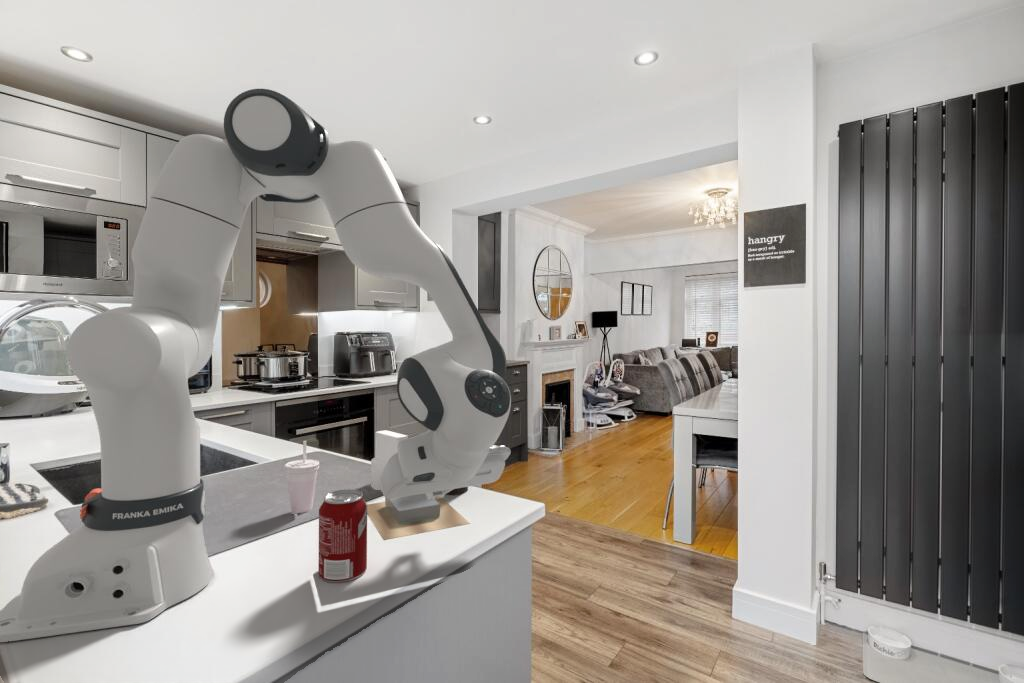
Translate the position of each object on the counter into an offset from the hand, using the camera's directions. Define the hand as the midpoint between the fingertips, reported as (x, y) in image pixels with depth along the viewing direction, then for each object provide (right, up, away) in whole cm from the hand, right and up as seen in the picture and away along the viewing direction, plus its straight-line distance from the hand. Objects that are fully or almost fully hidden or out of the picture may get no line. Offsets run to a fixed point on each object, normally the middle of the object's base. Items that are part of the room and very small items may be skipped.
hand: (433, 495), depth 85 cm
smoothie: (-28, -7, +12) cm, 31 cm away
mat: (-5, -7, +10) cm, 14 cm away
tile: (-4, -6, +7) cm, 10 cm away
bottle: (0, -7, +25) cm, 26 cm away
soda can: (-11, -8, -12) cm, 19 cm away
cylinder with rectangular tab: (-15, -7, +29) cm, 33 cm away
